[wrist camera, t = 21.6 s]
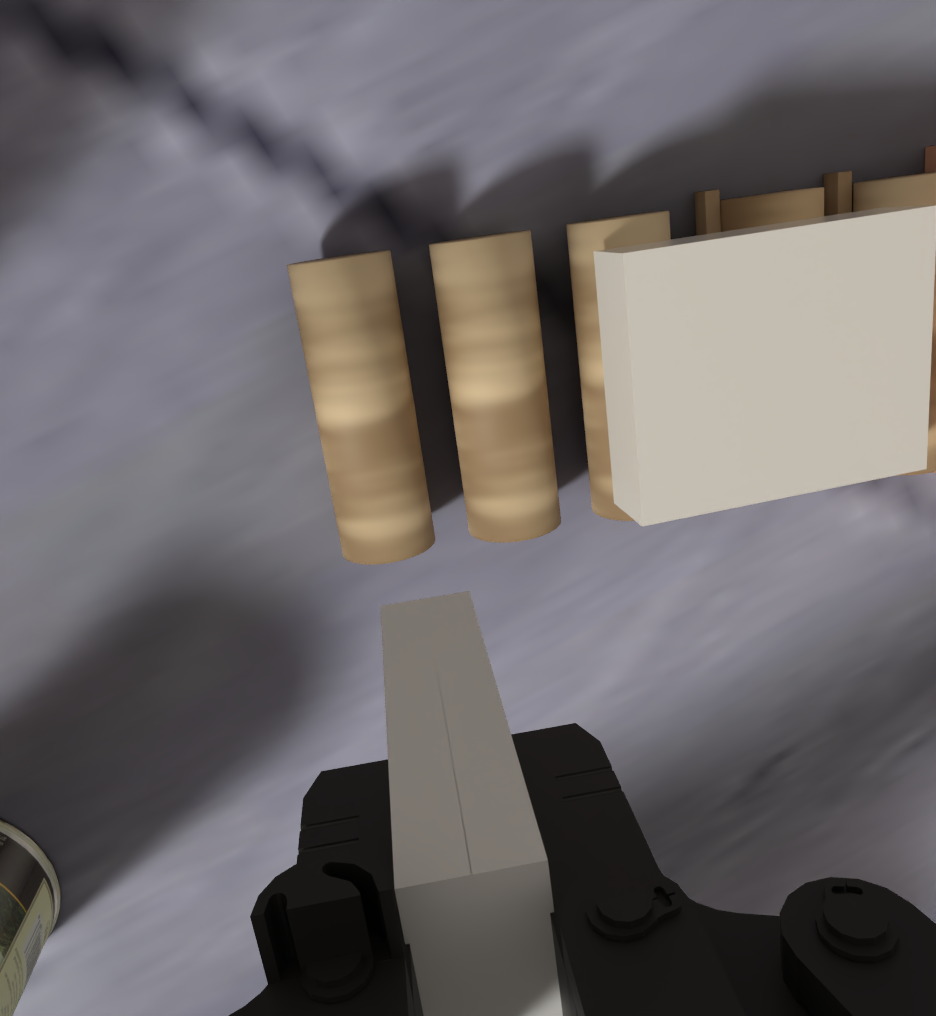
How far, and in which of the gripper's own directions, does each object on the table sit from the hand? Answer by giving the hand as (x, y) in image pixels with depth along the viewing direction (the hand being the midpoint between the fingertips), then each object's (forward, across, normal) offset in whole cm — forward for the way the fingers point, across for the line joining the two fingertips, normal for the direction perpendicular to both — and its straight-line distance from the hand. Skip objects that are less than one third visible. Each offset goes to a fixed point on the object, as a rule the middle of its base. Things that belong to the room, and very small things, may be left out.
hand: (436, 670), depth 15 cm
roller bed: (+24, +10, 0) cm, 26 cm away
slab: (+20, +14, 0) cm, 25 cm away
